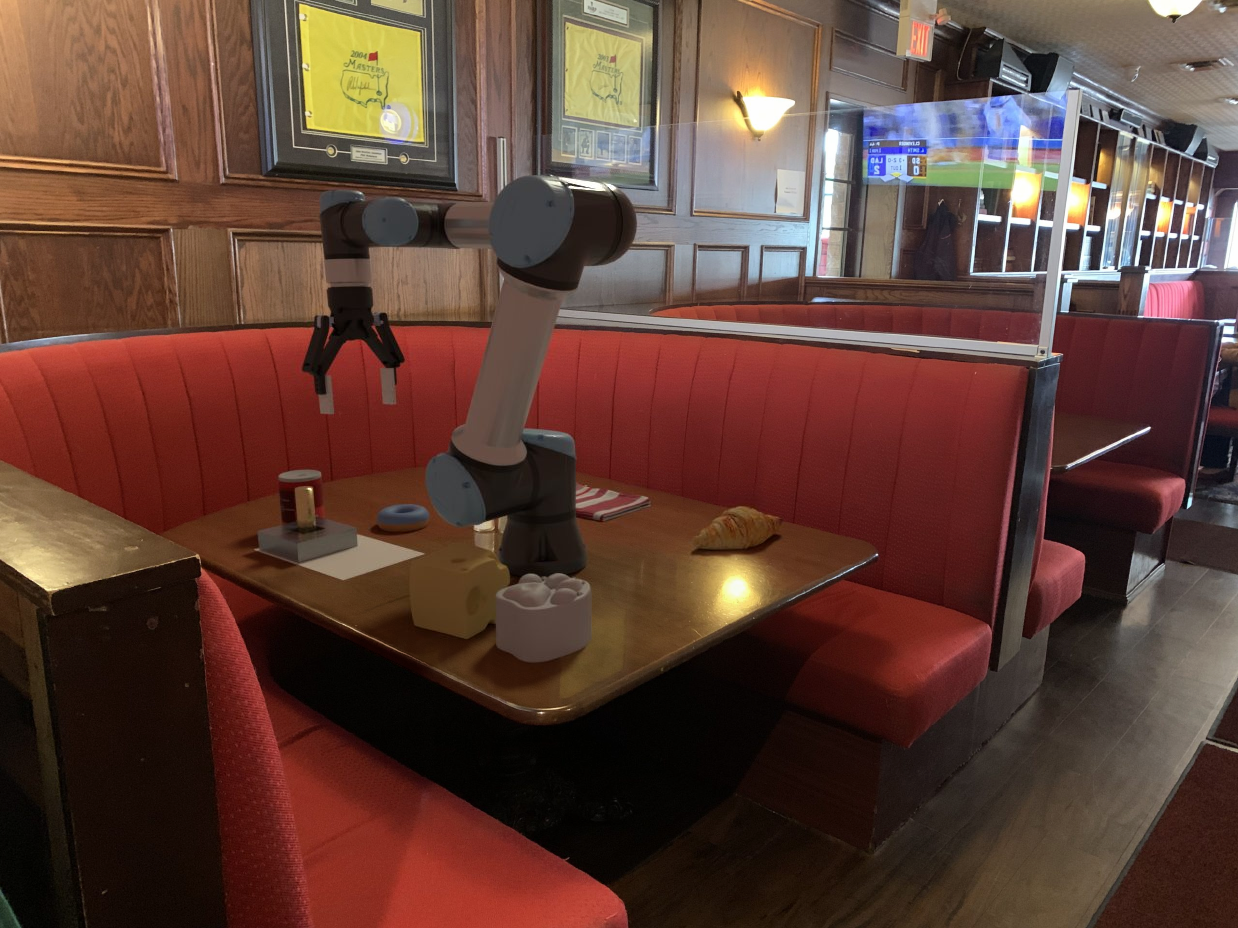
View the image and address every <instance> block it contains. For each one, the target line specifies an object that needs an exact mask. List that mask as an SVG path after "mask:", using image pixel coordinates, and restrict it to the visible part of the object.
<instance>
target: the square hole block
mask: <svg viewBox="0 0 1238 928" xmlns="http://www.w3.org/2000/svg"><path fill="white" fill-rule="evenodd" d="M315 520H316V531H315V532H311V533H307V534H301V533H299V532H298V521H296V522H292V523H288V524H284V525H282V524H280V525H276V526H272V527H268V528H264V529H259V530H257V539H258V540H257V541H258V548H259V550H261V551H264V552H267V553H270V554H273V555H276V556H279V557H282V558H285V559H288V560H290V561H293V562H296V563H301V562H305V561H308V560H312V559H315V558H319V557H322V556H326V555H329V554H332V553H336V552H339V551H343V550H346V549H350V548H353V547H356V546H358V543H357V534H358V531H357V527H355V526H352V525H349V524H345V523H342V522H339V521H334V520H331V519H328V518H325V517H324V518H321V517H318V516H316V517H315Z"/></svg>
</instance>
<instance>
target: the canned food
mask: <svg viewBox="0 0 1238 928" xmlns="http://www.w3.org/2000/svg"><path fill="white" fill-rule="evenodd" d="M277 477H278V478H277V480H278V483H277V484H278V494H279V495H278V496H279V503H280V504H279V506H280V514H281V525H284V524H288V523H292V522H296V521H298V520H297V509H296V497H295V488H297V487H302V486H311V487H313V496H314V508H315V517H316V516H318V517H321V518H325V506H324V491H323V490H324V489H323V479H322V472H321V471H319V470H317V469H295V470H289V471H286V472H282V473H280V474H279V475H278V476H277Z"/></svg>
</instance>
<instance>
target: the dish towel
mask: <svg viewBox="0 0 1238 928" xmlns="http://www.w3.org/2000/svg"><path fill="white" fill-rule="evenodd" d="M649 507H651V499H650V498H649V497H647V496H644V495H641V494H635V493H630V492H629V493H628V492H617V491H614V490H611V489H610V490H609V489H605V488H593V487H590V486H589V487H588V486H586V485H583V484H582V485H581V484H580V483H579V482H577V481H576V517H581V518H584V519H587V520H588V519H590V520H594V521H600V522H606V521H609V520H612V519H615V518H619V517H623V516H625V515H627V514H628V515H629V514H630V513H633V512H637V511H639V510H642V509H647V508H649Z"/></svg>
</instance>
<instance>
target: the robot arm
mask: <svg viewBox="0 0 1238 928" xmlns="http://www.w3.org/2000/svg"><path fill="white" fill-rule="evenodd" d="M318 218H319V221H320V222H319V223H320V232H321V241H322V243H321V244H322V251H323V259H324V261H323V263H324V273H325V282H326V284H329V286H328V287H327V289H326V297H327V306H328V308H329V310H330V316H329V315H325V314H323V315H322V314H320V315H319V314H318V315H315V316H314V318H313V319H314V320H313V321H314V322H313V324H314V325H313V328H314V329H313V332H312V335H311V336H310V337H311V338H310V341H309V344H308V347H307V349H306V354H305V357H304V360H303V363H302V366H301V371H302V372H303V373H307V374H309V375H310V376H312V377H313V383H314V392H315V394H316V395H318V403H319V412H320V414H324V415H334V414H335V407H334V395H333V386H332V385H333V383H332V375H331V374H327V373H328V371H329V369H330V368H331V367H332V364H333V363H334V361H335V359H336V358H337V356H338V354H339V352H340V350H341V349H342V347H343V345H344V344H346V343H347V341H356V340H357V341H358V340H359V341H363V342H364V343H365V344H366V345H367V347H368V348H369V349H370V350H371V352H372V353H373V354H374V356H376V357H377V359H378V361H379V362H380V363H381V364H382V366H384V367H380V368H379V370H380V381H381V382H380V383H381V384H380V385H381V394H382V395H381V396H382V404H383V405H391V406H392V405H397V398H396V397H397V396H396V385H397V384H398V379H397V378H398V377H397V368H400V367H401V364H403V363H405V360H406V358H405V356H404V353H403V352H402V350H401V348H400V345H399V343H398V341H397V339H396V337H395V335H394V333H393V330H392V329H391V326H390V324H389V323H390V322H389V317H388V313H387V312H374V313H373V311H372V308H373V307H374V295H373V287H372V286H369V283H372V282H373V279H372V269H371V268H372V267H371V256H370V249H371V248H420V249H421V248H424V249H425V248H431V249H447V250H448V249H449V250H461V249H477V250H478V249H480V250H481V249H482V250H493V252H494V253H495V255H496V256H497V260H496V267H497V270H498V271H499V272H500V274H501V276H502V278H503V281H502V284H501V289H500V292H499V295H498V300H497V304H496V307H495V310H494V314H493V319H492V321H491V322H492V323H491V325H490V326H491V327H490V331H489V334H488V337H487V341H486V346H485V349H484V353H483V357H482V361H481V362H480V363H481V364H480V368H479V372H478V376H477V378H476V384H475V385H474V390H473V394H472V397H471V402H470V405H469V409H468V412H467V416H466V420H465V423H464V424H461V425H459V426H457V427H455V429H454V430H453V431H452V434H451V438H450V441H449V444H448V448H447V451H446V452H440V453H438V454H437V455H436V456H433V457H432V458H431V459H430V460H429V461H428V464H427V467H426V470H425V487H426V491H427V495H428V497H429V498H430V501H431V505H432V506H433V508H434V510H435V511H436V512H437V514H438V515H439V516H440V518H441V519H443V520H444V521H445V522H446V523H448V524H450V525H452V526H453V527H457V528H465V527H472V526H480V525H482V524H483V523H487V522H491V521H493V520H497V519H500V518H503V517H506V523H505V527H504V530H503V534H502V537H501V542H500V545H499V547H498V550H497V558H498V559H499V561H500V562H501V563H502V564H503V565H505V566H507V568H508V570H509V574H510V575H514V576H518V577H523V576H524V575H526V574H535V575H538V576H539V577H540V578H542V577H547V578H548V577H549V576H551V575H553V574H556V573H561V574H565V575H569V574H573V573H575V572H578V571H579V570H582V569H583V568H585V567H586V565H587V562H588V561H587V560H588V559H587V556H588V555H587V548H586V546H585V544H584V542H583V538H582V534H581V532H580V528H579V525H578V520H577V516H576V482H577V479H576V478H577V459H578V458H577V455H576V445H575V444H576V443H575V439H574V438H573V437H572V436H571V435H570V434H569V433H566V432H562V431H557V430H552V429H551V430H548V429H539V428H525V426H526V422H527V420H528V416H529V413H530V409H531V406H532V403H533V400H534V396H535V393H536V389H537V386H538V383H539V379H540V376H541V372H542V369H543V366H544V363H545V359H546V356H547V353H548V350H549V347H550V343H551V339H552V336H553V332H554V331H555V330H554V329H555V326H556V322H557V320H558V316H559V313H560V311H561V310H560V309H561V306H562V303H563V299H564V298H565V296H568V295H570V294H572V293H574V292H576V291H577V290H578V287H579V284H580V281H581V278H582V276H583V275H582V274H583V271H584V268H585V267H599V266H604V265H605V266H606V265H609V264H613V263H614V262H616V261H618V260H620V259H621V258H622V257H623V256H624V255H625V254H626V253H628V252H629V250H630V248H631V247H632V246H633V245H632V244H633V243H634V241H635V239H636V234H637V227H638V220H637V214H636V209H635V208H634V205H633V203H632V202H631V200H630V199H629V197H628V195H626V193H625V192H624V191H622V189H620V188H619V187H616V186H615V185H613V184H610V183H608V182H605V181H600V180H587V179H579V178H572V177H571V178H570V177H565V176H564V177H562V176H556V175H552V174H538V175H524V176H519V177H517V178H515V179H513V180H512V181H509V183H507V184H506V185H505V186H504V187H502V189H501V190H500V191H499V192H498V194H497V196H496V197H495V200H494V201H480V202H479V201H476V202H475V201H474V202H473V201H470V202H426V201H425V202H424V201H415V200H411V201H410V200H406V199H404V198H402V197H398V196H394V197H393V196H389V197H388V196H380V197H378V198H375V199H368V200H366V196H365V194H364V193H363V192H361V191H358V190H351V189H350V190H347V189H337V190H327V191H323V192H322V193H320V196H319V214H318ZM373 325H374V328H375V329H374V328H373ZM331 327H332V331H331V332H330V329H331ZM375 330H376V331H375ZM329 332H330V334H329ZM327 339H328V340H327Z"/></svg>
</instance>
